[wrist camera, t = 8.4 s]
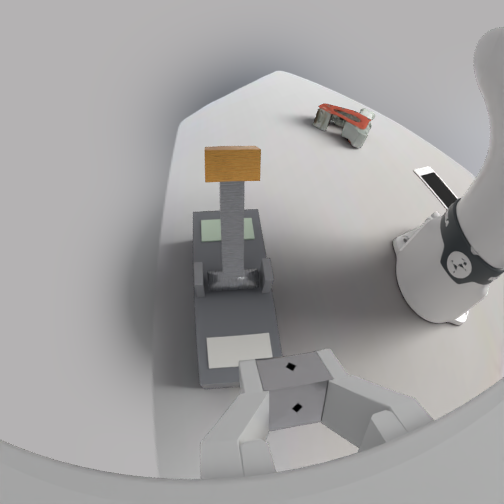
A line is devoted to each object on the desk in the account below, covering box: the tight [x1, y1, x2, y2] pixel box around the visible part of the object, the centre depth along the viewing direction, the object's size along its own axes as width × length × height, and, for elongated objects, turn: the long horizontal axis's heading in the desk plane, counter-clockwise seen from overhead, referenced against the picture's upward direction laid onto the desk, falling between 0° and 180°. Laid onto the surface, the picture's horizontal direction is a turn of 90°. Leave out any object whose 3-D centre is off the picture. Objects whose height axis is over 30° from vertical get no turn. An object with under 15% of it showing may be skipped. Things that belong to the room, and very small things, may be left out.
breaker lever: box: [205, 146, 261, 291], centre depth 25 cm, size 3×5×14 cm, turn 97°
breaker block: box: [193, 209, 282, 389], centre depth 30 cm, size 20×8×9 cm, turn 7°
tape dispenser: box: [312, 104, 375, 148], centre depth 58 cm, size 18×5×20 cm
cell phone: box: [414, 166, 458, 209], centre depth 52 cm, size 8×16×1 cm, turn 25°
